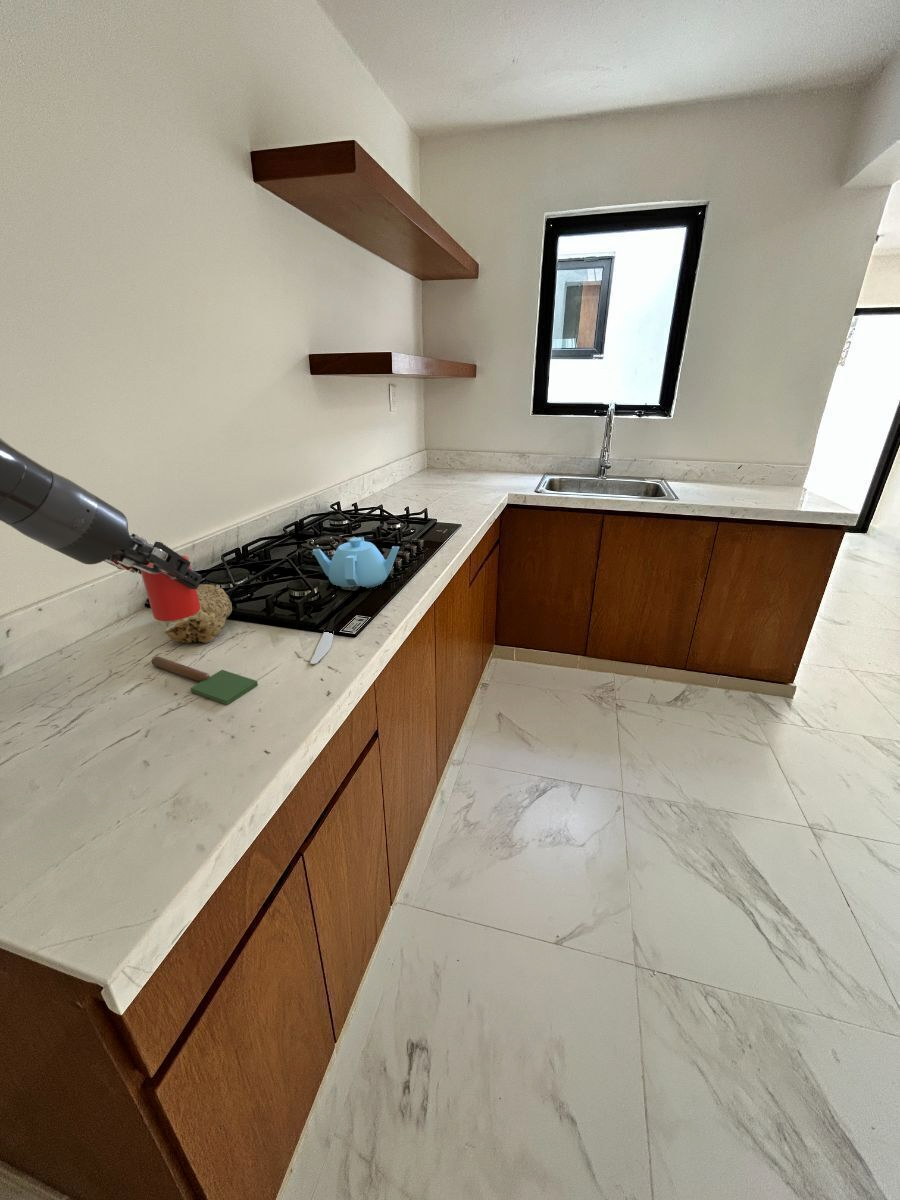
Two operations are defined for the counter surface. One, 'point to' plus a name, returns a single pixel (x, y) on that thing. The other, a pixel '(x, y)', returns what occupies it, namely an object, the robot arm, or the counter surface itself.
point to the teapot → (357, 564)
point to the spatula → (211, 681)
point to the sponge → (203, 617)
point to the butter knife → (322, 647)
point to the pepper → (169, 597)
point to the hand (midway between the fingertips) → (180, 580)
